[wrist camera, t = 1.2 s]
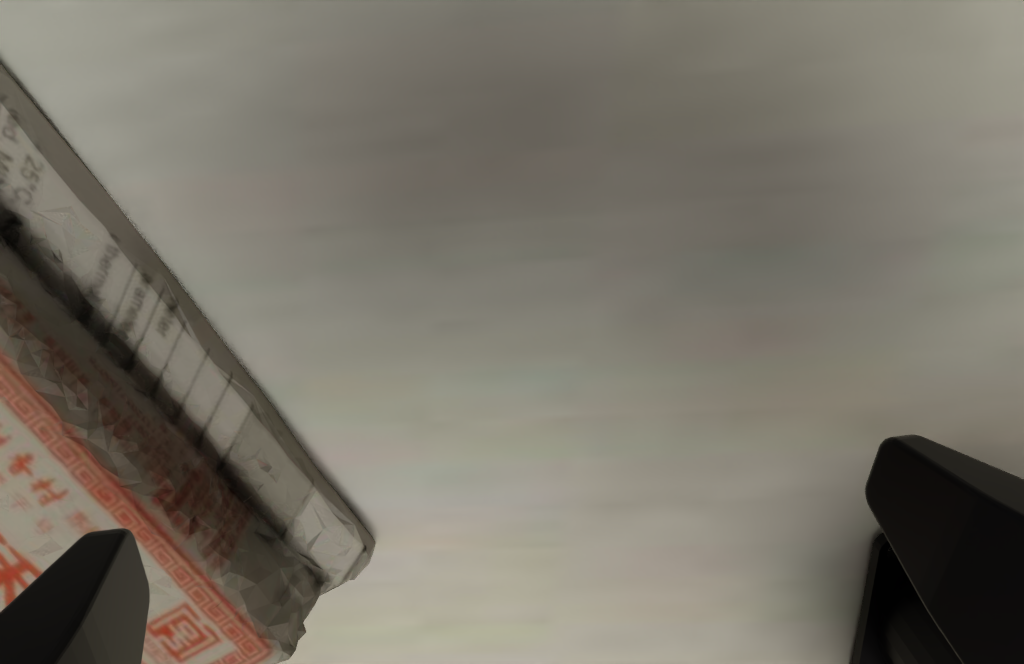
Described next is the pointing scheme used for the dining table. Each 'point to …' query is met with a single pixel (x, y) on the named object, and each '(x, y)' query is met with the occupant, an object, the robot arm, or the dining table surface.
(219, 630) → the packaged product
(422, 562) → the dining table surface
